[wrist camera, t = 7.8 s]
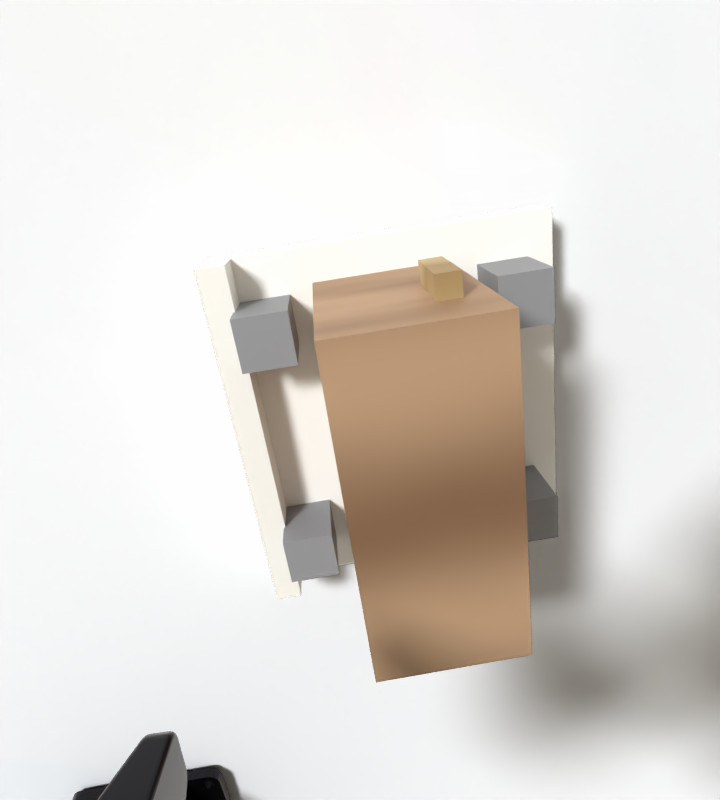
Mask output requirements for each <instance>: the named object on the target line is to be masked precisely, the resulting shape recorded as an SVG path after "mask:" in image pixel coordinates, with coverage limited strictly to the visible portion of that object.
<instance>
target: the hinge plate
mask: <svg viewBox="0 0 720 800" xmlns="http://www.w3.org/2000/svg"><path fill="white" fill-rule="evenodd" d="M439 256H443V257H444V258H445V259H447V260H448V261H450V262H452V263H453V264H455V265H456V266H458V267H459V268H461V269H462V270H464V271H465V272H467V273H468V274H470V275H471V276H472V277H474V278H475V279H477V280H478V281H480V282H481V283H483V284H484V285H486V286H487V287H489V288H490V289H492V290H493V291H495V292H496V293H498V294H499V295H501V296H502V297H504V298H505V299H507V300H508V301H510V302H511V303H513V304H514V305H516V306H517V307H519V315H520V342H521V369H522V396H523V423H524V449H525V476H526V503H527V530H528V542H529V541H535V540H541V539H547V538H552V537H558V502H557V495H556V460H555V388H554V323H555V270H554V267H553V246H552V207H546V206H540V205H533V206H527V207H520V208H514V209H508V210H501V211H495V212H489V213H483V214H476V215H470V216H464V217H457V218H451V219H445V220H439V221H432V222H426V223H420V224H414V225H407V226H401V227H395V228H388V229H382V230H376V231H370V232H363V233H357V234H351V235H344V236H338V237H332V238H326V239H319V240H313V241H307V242H301V243H294V244H288V245H282V246H275V247H269V248H263V249H257V250H250V251H244V252H238V253H231V254H225V255H219V256H213V257H208V258H207V259H206V260H205V261H204V262H203V263H202V264H201V265H199V266H198V267H197V268H196V269H195V270H194V273H195V277H196V281H197V285H198V289H199V293H200V297H201V301H202V305H203V308H204V312H205V316H206V320H207V324H208V328H209V332H210V336H211V340H212V344H213V348H214V352H215V356H216V360H217V364H218V368H219V371H220V375H221V379H222V383H223V387H224V391H225V395H226V399H227V403H228V407H229V411H230V415H231V419H232V423H233V427H234V431H235V434H236V438H237V442H238V446H239V450H240V454H241V458H242V462H243V466H244V470H245V474H246V478H247V482H248V486H249V490H250V493H251V497H252V501H253V505H254V509H255V513H256V517H257V521H258V525H259V529H260V533H261V537H262V541H263V545H264V549H265V553H266V556H267V560H268V564H269V568H270V572H271V576H272V580H273V584H274V588H275V592H276V596H277V600H278V599H284V598H290V597H296V596H301V581H302V580H308V579H314V578H320V577H325V576H331V575H337V574H339V566H340V565H346V564H352V563H354V558H353V553H352V547H351V542H350V536H349V531H348V525H347V520H346V514H345V509H344V503H343V498H342V493H341V487H340V482H339V476H338V471H337V465H336V460H335V454H334V449H333V443H332V438H331V432H330V427H329V421H328V416H327V410H326V405H325V399H324V394H323V388H322V383H321V377H320V372H319V366H318V361H317V355H316V350H315V344H314V325H313V288H312V283H314V282H320V281H326V280H333V279H339V278H345V277H351V276H358V275H364V274H370V273H376V272H382V271H389V270H395V269H401V268H407V267H414V266H418V260H421V259H427V258H433V257H439Z"/></svg>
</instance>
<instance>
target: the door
mask: <svg viewBox="0 0 720 800" xmlns="http://www.w3.org/2000/svg"><path fill="white" fill-rule="evenodd" d="M312 288H313V325H314V344H315V350H316V355H317V361H318V366H319V372H320V377H321V383H322V388H323V394H324V399H325V405H326V410H327V416H328V421H329V427H330V432H331V438H332V443H333V449H334V454H335V460H336V465H337V471H338V476H339V482H340V487H341V493H342V498H343V503H344V509H345V514H346V520H347V525H348V531H349V536H350V542H351V547H352V553H353V558H354V564H355V569H356V575H357V580H358V586H359V591H360V597H361V602H362V608H363V613H364V619H365V624H366V630H367V635H368V641H369V646H370V652H371V657H372V663H373V668H374V674H375V679H376V682H381V681H386V680H392V679H398V678H404V677H409V676H415V675H421V674H426V673H432V672H438V671H443V670H449V669H455V668H460V667H466V666H472V665H477V664H483V663H489V662H494V661H500V660H506V659H512V658H517V657H523V656H529V655H532V637H531V610H530V583H529V557H528V530H527V503H526V476H525V449H524V423H523V396H522V369H521V342H520V315H519V307H517V306H516V305H514V304H513V303H511V302H510V301H508V300H507V299H505V298H504V297H502V296H501V295H499V294H498V293H496V292H495V291H493V290H492V289H490V288H489V287H487V286H486V285H484V284H483V283H481V282H480V281H478V280H477V279H475V278H474V277H472V276H471V275H470V274H468V273H467V272H465V271H464V270H462V269H461V268H459V267H458V266H456V265H455V264H453V263H452V262H450V261H448V260H447V259H445V258H444V257H443V256H439V257H433V258H427V259H421V260H418V266H414V267H407V268H401V269H395V270H389V271H382V272H376V273H370V274H364V275H358V276H351V277H345V278H339V279H333V280H326V281H320V282H314V283H312Z"/></svg>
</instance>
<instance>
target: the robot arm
mask: <svg viewBox="0 0 720 800" xmlns="http://www.w3.org/2000/svg"><path fill="white" fill-rule="evenodd" d="M73 800H231V799H230V796H229V794H228V791H227V788H226V785H225V782H224V780H223V777H222V774H221V772H220V771H219V770H217V769H214V768H206V769H201V770H195V771H189V772H187V770H186V766H185V762H184V759H183V755H182V752H181V748H180V744H179V741H178V737H177V735H176V734H175V733H174V732H171V731H169V732H161V733H153V734H149V735H147V736H145V737H144V738H143V739H142V740H141V741H140V742H139V744H138V745H137V747H136V748H135V749H134V751H133V752H132V753H131V755H130V756H129V757H128V759H127V760H126V762H125V763H124V764H123V766H122V767H121V768H120V770H119V771H118V772H117V774H116V775H115V776H114V778H113V779H112V781H111V782H110V783H109V785H108V786H105V787H100V788H94V789H88V790H83V791H79V792H77V793H76V794H75V795H74V797H73Z"/></svg>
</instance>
